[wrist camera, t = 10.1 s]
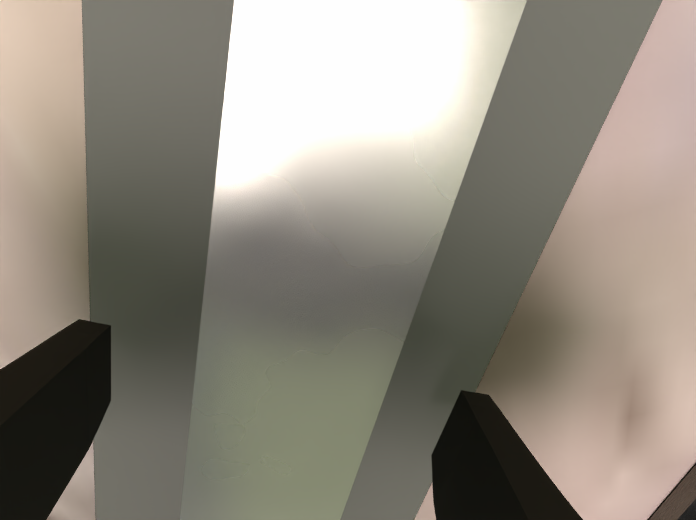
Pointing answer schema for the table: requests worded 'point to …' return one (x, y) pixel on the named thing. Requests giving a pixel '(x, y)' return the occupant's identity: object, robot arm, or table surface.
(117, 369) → the pad
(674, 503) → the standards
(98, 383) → the robot arm
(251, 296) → the rail
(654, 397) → the table surface
